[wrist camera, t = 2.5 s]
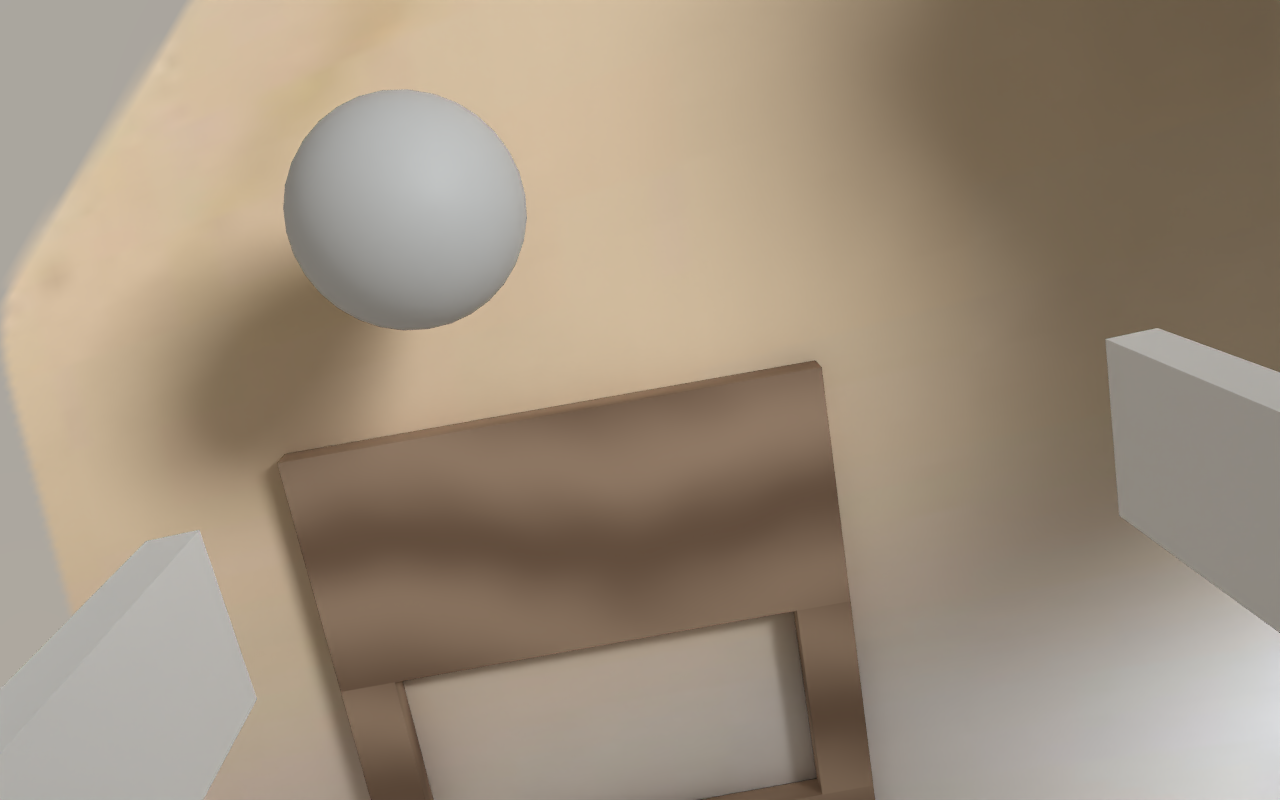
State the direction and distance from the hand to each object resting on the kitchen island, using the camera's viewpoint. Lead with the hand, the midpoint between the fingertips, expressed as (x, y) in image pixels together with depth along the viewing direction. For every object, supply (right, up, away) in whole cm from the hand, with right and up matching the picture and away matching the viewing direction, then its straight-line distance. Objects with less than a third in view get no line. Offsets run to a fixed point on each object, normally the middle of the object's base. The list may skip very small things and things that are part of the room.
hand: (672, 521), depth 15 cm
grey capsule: (-7, +9, +20) cm, 23 cm away
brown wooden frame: (-2, -8, +25) cm, 26 cm away
